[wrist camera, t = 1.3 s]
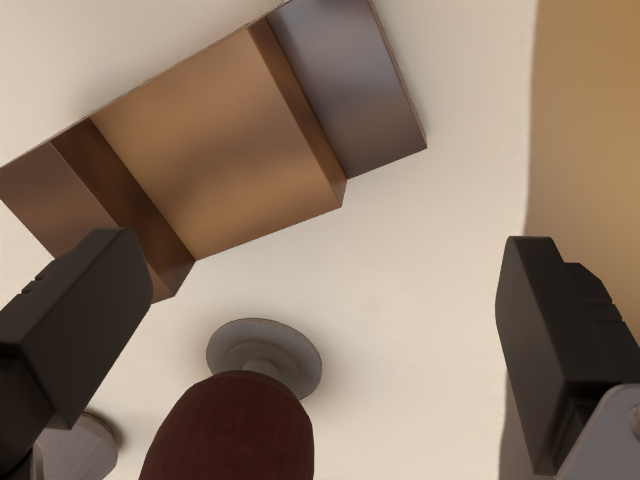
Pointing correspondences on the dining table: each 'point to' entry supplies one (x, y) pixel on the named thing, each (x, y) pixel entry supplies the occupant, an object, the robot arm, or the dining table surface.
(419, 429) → the dining table surface
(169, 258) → the stand
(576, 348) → the robot arm
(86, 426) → the coffee pot
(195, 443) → the mate gourd
